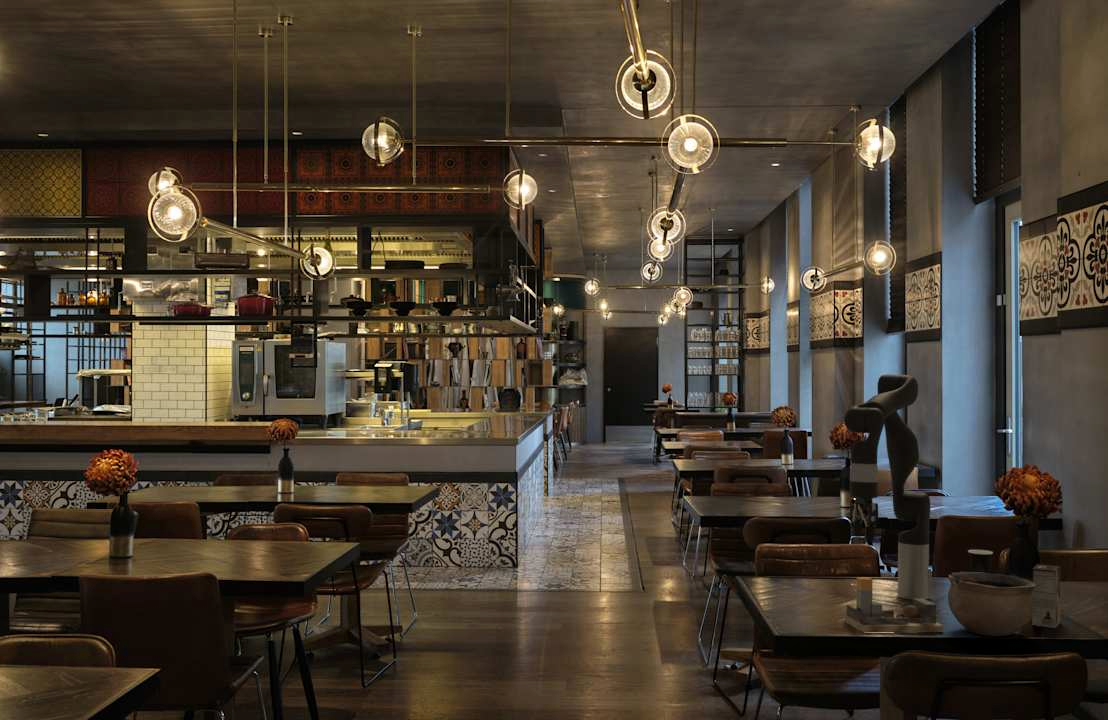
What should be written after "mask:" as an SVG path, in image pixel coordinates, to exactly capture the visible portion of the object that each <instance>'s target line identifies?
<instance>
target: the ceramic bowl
mask: <svg viewBox="0 0 1108 720" xmlns="http://www.w3.org/2000/svg"><path fill="white" fill-rule="evenodd" d="M948 579H949V582H950V586H949V589H948V593H947V596H948V597H947V601H948V606H949V609H950V612H951V613H952V615H953V616H954V618H955V619H956V621H957V622H958V623H959V625H961V626H962V627H963V628H964V629H966V630H967V631H969V632H971V633H974V634H976V635H981V636H987V637H1004V636H1011V635H1013V634H1016V633H1018V631H1020V630H1021V629H1022V628H1023V627H1024V626H1026V625H1027V624H1028V623H1030V621H1031V619H1032V615H1033V613H1034V604H1035V603H1034V598H1033V595H1032V592H1033V590H1034V588H1035V586H1036V585H1035V584H1034V583H1032V581H1030V580H1029V579H1026V578H1022V577H1017V576H1012V575H1007V574H1000V573H990V574H989V573H983V572H971V571H959V572H958V571H957V572H956V571H955V572H952V573H951V574H948Z"/></svg>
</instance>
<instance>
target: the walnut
mask: <svg viewBox="0 0 1108 720" xmlns="http://www.w3.org/2000/svg"><path fill="white" fill-rule="evenodd" d="M902 614H903V615H904V616H905V617H907V618H917V616H918V610H917V608H916V607H915V606H913V604H908V605H906V606H904V607H903V609H902Z"/></svg>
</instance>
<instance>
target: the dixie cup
mask: <svg viewBox="0 0 1108 720" xmlns="http://www.w3.org/2000/svg"><path fill="white" fill-rule="evenodd" d="M967 552H968V555H969V556H968V557H969V559H968V560H969V566H970V572H983V573H989V574H991V567H992V561H993V560H992V558H993V554H994V552H993V551H991V550H986V549H969V550H967Z"/></svg>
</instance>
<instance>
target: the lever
mask: <svg viewBox="0 0 1108 720" xmlns="http://www.w3.org/2000/svg"><path fill="white" fill-rule="evenodd" d="M855 608H856V609H858V610H859V611H861V612H863V613H865V614H866V618H884V617H883V616H882V610H883V604H882V603H881V602H879V601H875V600H874V601H873V578H871V577H868V576H866V577H865V576H863V577H862V576H861V577H860V576H859V577H858V576H857V577H856V607H855Z"/></svg>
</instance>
